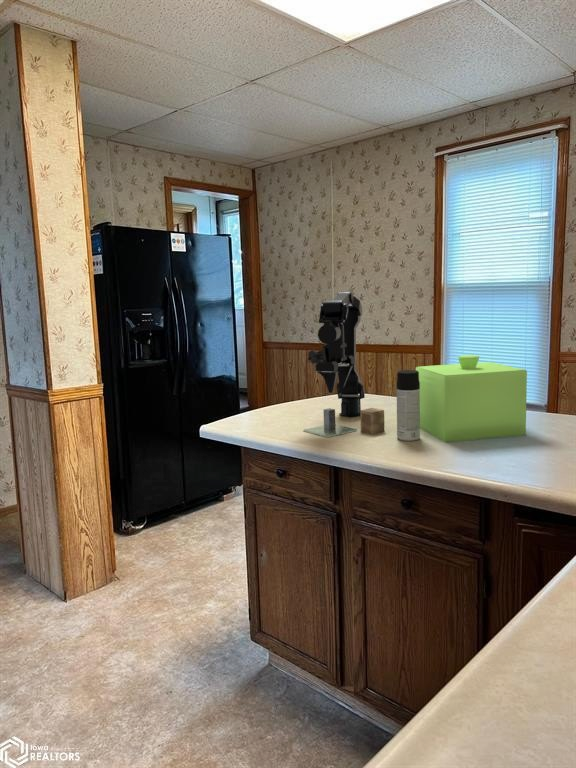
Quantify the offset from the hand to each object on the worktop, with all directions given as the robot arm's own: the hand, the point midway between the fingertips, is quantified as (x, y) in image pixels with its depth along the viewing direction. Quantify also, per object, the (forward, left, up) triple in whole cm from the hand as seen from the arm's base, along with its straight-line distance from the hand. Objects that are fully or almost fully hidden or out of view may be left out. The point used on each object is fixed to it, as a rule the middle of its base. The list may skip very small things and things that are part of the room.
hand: (336, 390), depth 182 cm
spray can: (-8, +23, -13) cm, 28 cm away
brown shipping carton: (-7, +9, -13) cm, 17 cm away
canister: (-28, +29, -13) cm, 42 cm away
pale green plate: (+2, -1, -13) cm, 13 cm away
